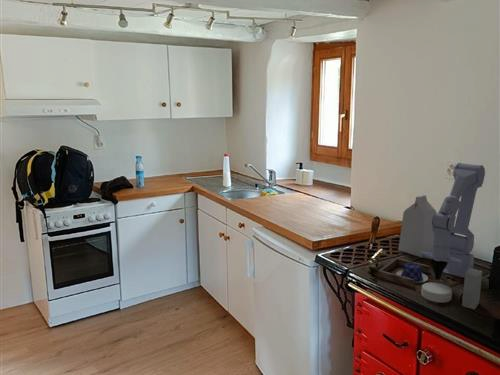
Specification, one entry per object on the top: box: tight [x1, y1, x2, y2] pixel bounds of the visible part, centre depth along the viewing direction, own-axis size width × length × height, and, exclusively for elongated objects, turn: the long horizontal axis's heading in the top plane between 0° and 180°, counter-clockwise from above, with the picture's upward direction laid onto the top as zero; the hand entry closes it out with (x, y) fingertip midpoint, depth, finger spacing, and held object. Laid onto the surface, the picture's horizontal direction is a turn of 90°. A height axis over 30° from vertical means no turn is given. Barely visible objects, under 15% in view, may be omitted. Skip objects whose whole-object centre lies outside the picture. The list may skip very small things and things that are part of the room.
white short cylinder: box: [420, 281, 453, 304], centre depth 153 cm, size 10×10×4 cm
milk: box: [397, 194, 438, 257], centre depth 196 cm, size 12×12×26 cm
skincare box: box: [461, 268, 483, 310], centre depth 146 cm, size 6×4×12 cm
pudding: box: [395, 263, 429, 284], centre depth 169 cm, size 12×12×5 cm
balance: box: [366, 248, 387, 271], centre depth 180 cm, size 13×4×7 cm, turn 139°
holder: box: [377, 257, 431, 288], centre depth 172 cm, size 14×18×3 cm
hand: (438, 278), depth 163 cm, fingers closed
